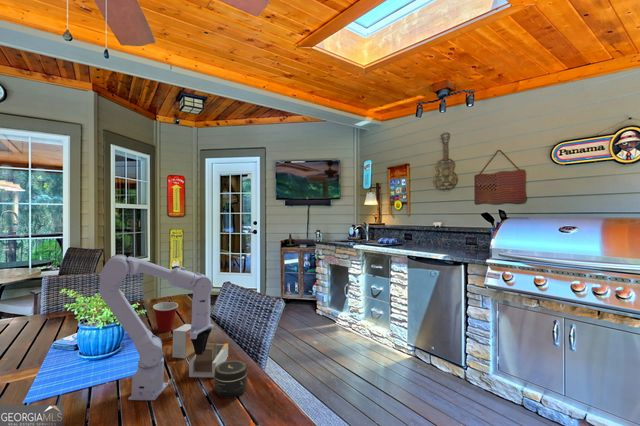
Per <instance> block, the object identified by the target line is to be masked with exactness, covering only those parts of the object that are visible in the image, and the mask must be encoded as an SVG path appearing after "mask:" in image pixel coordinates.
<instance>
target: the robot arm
mask: <svg viewBox="0 0 640 426" xmlns="http://www.w3.org/2000/svg"><path fill="white" fill-rule="evenodd" d="M128 273H129V276H135V275H139V274H143V275H144V274H145V275H149V276H153V277H156V278H160V279H164V280H167V281H168V283H169V285H170V286H173V287H177V288H181V289H183V290H187V291H192V300H191V301H192V302H191V332H190V334H189V339H191V341H192V343H193V346H194V351H195V352H194V354H195V355H202V353H203V352H204V351H205V349H206V344H207V343H208V340H209V337H210V333H211V332H212V330H213V328H214V324H212V323H211V322H212V321H211V319H212V317H211V292H212V290H213V288H214V287H213V283H212V281H211V279H210V278H209V277H208V276H207V275H205V274H203V273H200V272H198V271H196V272H193V271H190V270H186V267H184V266H181V267H175V268H173V269H170V268H167V267H163V266H162V265H159V264H156V263H152V262H150V261H147V260H144V259H142V258H137V257H133V256H128V257H127V255H124V254H114V255H112V256H111V257H109V258H108V260H107V262H106V263H105V264H104V266H103V267H102V269H101V271H100V276H99V277H100V279H99V290H98V291H99V292H98V293H99V296H100V298H101V299H102V300H103V302H104V303H105V304H106V306H107V307H108V309H109V310H110V311H111V313H112V315H114V317H115V318H116V320H117V321H118V323H119V324H120V325H121V327H122V328H123V329H124V331H125V332H126V333H127V335H128V337H129V338H130V340H131V341H132V342H133V345H134V347H135V349H136V352H137V353H138V355H139V360H138V362H137V368H136V372H135V373H134V374H133V376H132V378H131V395H130V396H129V397H128V399H127V400H128V401H156V399H158V398H159V396H160V395H161V394H162V393H163V392H164V390H165V389H166V388H167V387H168V385H169V382H164V373H165V372H164V367H165V358H164V351H163V341H162V339H161V338H160V337H158V336H156V335H154V334H153V333H152V331H151V330H150V329H148V328H147V326H146V324H145V323H144V322H143V321H142V319H141V317H140V316H139V315H138V313H137V312H136V310H135V309H134V307H133V306H132V305H131V303H130V302H129V300H128V299H127V298H126V296H125V294H123V292H122V291H121V289H120V287H121V286H122V282H123V280H124V279H125V278H126V276H127V275H128Z"/></svg>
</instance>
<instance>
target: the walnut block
mask: <svg viewBox="0 0 640 426" xmlns="http://www.w3.org/2000/svg"><path fill="white" fill-rule="evenodd" d="M217 344H218V343H214V342H213V343H212V342H211V343H209V342H207V344H206V349H205V351H204V352H203V353H202V355H196V354H195V355H196V371H199V372H212V362H213V361H214V359H215V358H216V354H217Z"/></svg>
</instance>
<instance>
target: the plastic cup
mask: <svg viewBox="0 0 640 426" xmlns="http://www.w3.org/2000/svg"><path fill="white" fill-rule="evenodd" d="M178 307H179V303H177V302H174V301H173V302H172V301H165V302H164V301H163V302H158V303H155V304H153V306H152V309H153V311H154V314H155V321H156V326H157V330H158V332H159V333H169V332H171V331H173V325H174V321H175V318H176V311H177V309H178Z"/></svg>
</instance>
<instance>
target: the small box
mask: <svg viewBox="0 0 640 426" xmlns="http://www.w3.org/2000/svg"><path fill="white" fill-rule="evenodd" d="M191 325H192V323H191V324H190V323H184V324H183V325H181V326H179V327H178V328H175V329H172V354H171V355H172V358H175V359H176V358H177V359H187V358H188V357H189V356H191V355H192V354H195V351H194V346H193V343H192V341H191V339H189V334H190V332H191Z"/></svg>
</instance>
